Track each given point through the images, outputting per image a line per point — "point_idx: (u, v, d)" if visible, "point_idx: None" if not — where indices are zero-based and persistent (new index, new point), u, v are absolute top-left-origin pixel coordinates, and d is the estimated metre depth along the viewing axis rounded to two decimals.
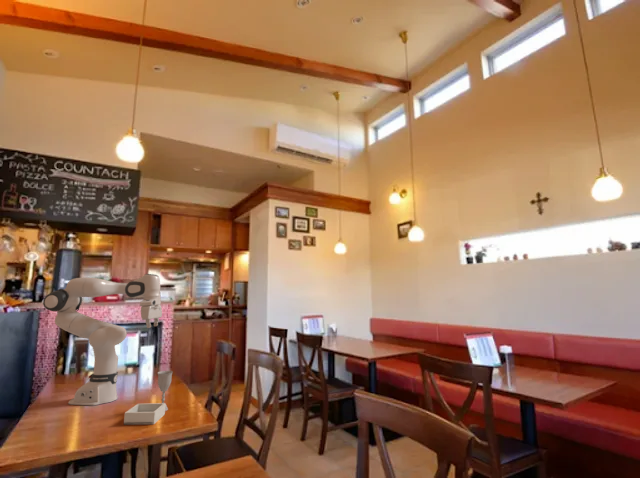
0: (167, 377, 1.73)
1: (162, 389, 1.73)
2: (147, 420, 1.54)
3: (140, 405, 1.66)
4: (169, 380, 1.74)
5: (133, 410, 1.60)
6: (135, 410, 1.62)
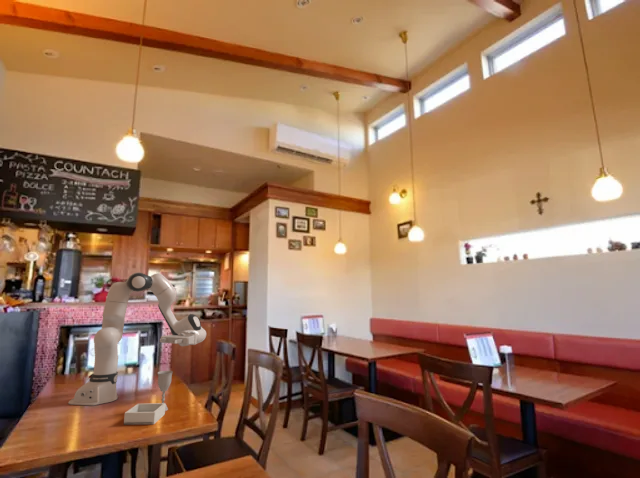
0: (167, 377, 1.73)
1: (162, 389, 1.73)
2: (147, 420, 1.54)
3: (140, 405, 1.66)
4: (169, 380, 1.74)
5: (133, 410, 1.60)
6: (135, 410, 1.62)
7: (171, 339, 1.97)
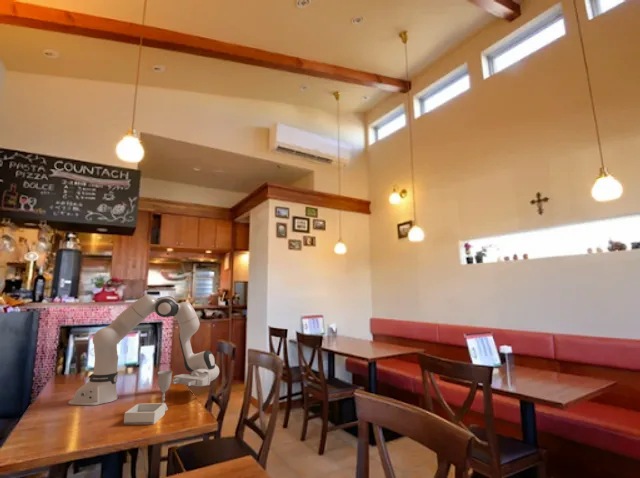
0: (167, 377, 1.73)
1: (162, 389, 1.73)
2: (147, 420, 1.54)
3: (140, 405, 1.66)
4: (169, 380, 1.74)
5: (133, 410, 1.60)
6: (135, 410, 1.62)
7: (184, 380, 1.91)
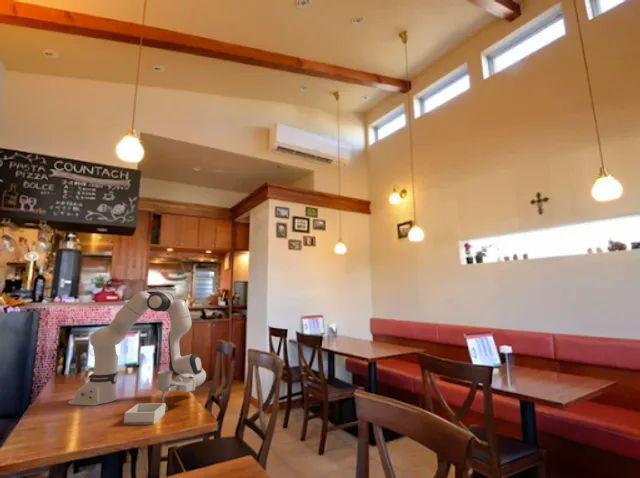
0: (167, 377, 1.73)
1: (162, 389, 1.73)
2: (147, 420, 1.54)
3: (140, 405, 1.66)
4: (169, 380, 1.74)
5: (133, 410, 1.60)
6: (135, 410, 1.62)
7: None
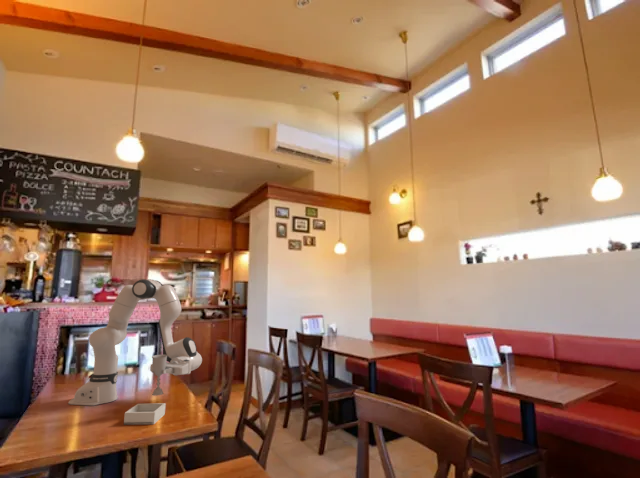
0: (162, 361, 1.69)
1: (157, 373, 1.69)
2: (147, 420, 1.54)
3: (140, 405, 1.66)
4: (164, 364, 1.70)
5: (133, 410, 1.60)
6: (135, 410, 1.62)
7: None
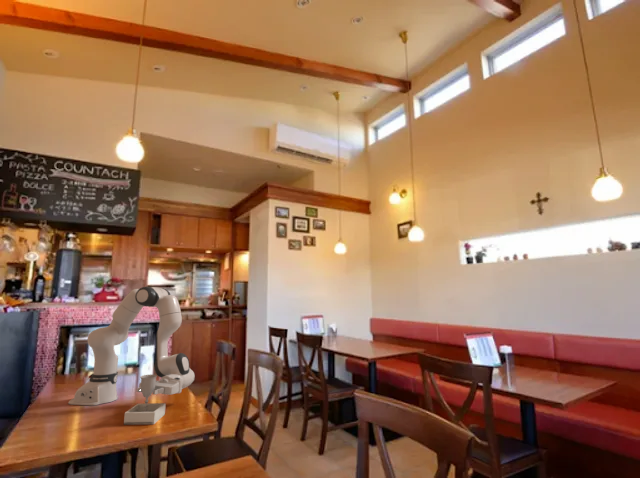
0: (151, 382, 1.61)
1: (145, 394, 1.60)
2: (147, 420, 1.54)
3: (140, 405, 1.66)
4: (153, 385, 1.61)
5: (133, 410, 1.60)
6: (135, 410, 1.62)
7: None
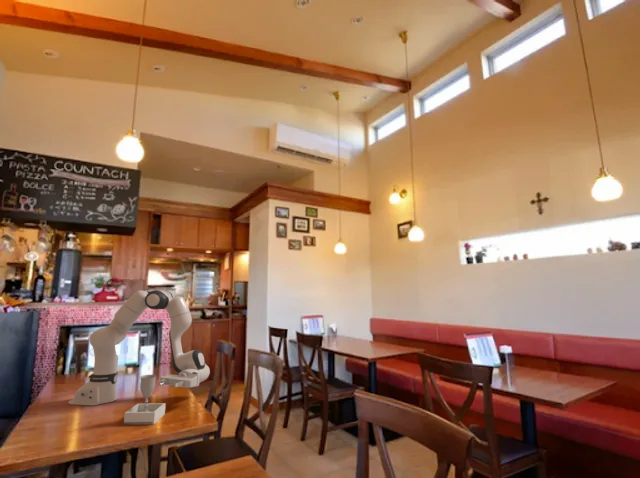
0: (150, 382, 1.61)
1: (145, 394, 1.60)
2: (147, 420, 1.54)
3: (140, 405, 1.66)
4: (152, 385, 1.61)
5: (133, 410, 1.60)
6: (135, 410, 1.62)
7: (171, 381, 1.79)
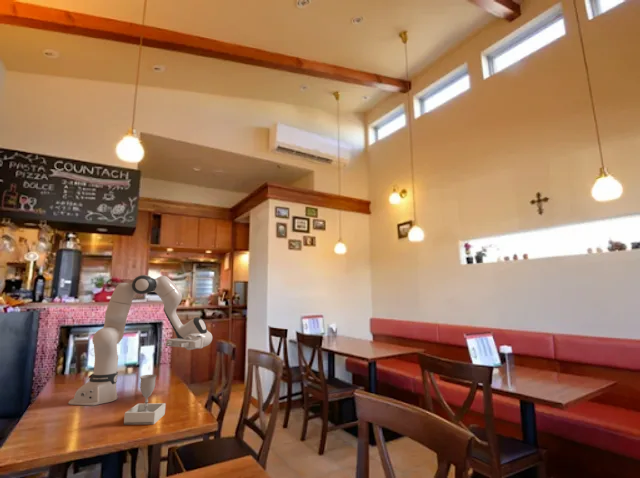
0: (150, 382, 1.61)
1: (145, 394, 1.60)
2: (147, 420, 1.54)
3: (140, 405, 1.66)
4: (152, 385, 1.61)
5: (133, 410, 1.60)
6: (135, 410, 1.62)
7: (177, 342, 1.93)
